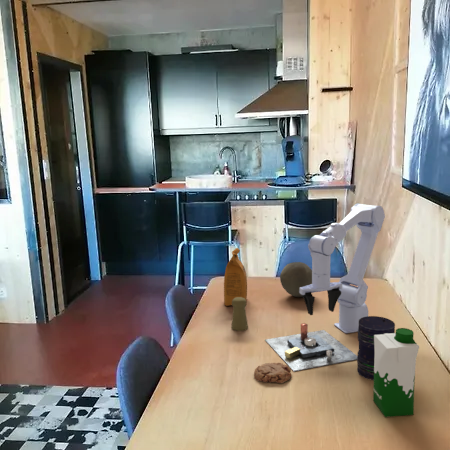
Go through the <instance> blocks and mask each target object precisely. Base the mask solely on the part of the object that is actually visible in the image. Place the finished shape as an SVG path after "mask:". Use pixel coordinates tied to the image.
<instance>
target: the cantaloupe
mask: <svg viewBox="0 0 450 450" xmlns="http://www.w3.org/2000/svg"><path fill="white" fill-rule="evenodd" d="M279 280H280V283H281V284H280V285H281V287H282V288H283V289H284V291H286V293H288V294H289V295H291V296H293V297H295V298H303V297H302V295H301V294H300V293H299V288H300V287H304V286H307V285H310V284H312V268H311V267H310V266H309V265H308V264H306V263H305V262H301V261H294V262H290V263H287V264H286V265H285V266H284V267H283V268H282V270H281V273H280V275H279Z"/></svg>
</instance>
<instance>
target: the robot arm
mask: <svg viewBox="0 0 450 450" xmlns="http://www.w3.org/2000/svg"><path fill="white" fill-rule="evenodd" d="M385 218H386V215H385V210H384V208H383V206H381V205H374V204H365V203H359V202H358V203H355V204H354V205H353V206H351V207H350V212H349V213H348V214H347V215H346V216H345V217H344V218H343V219H342V220H340V222H332V223H330V226H328V228H326V229H325V230H323V231H322V232H321V233H320V234H315V235H313V236H312V237H311V238H310V239H309V242H308V244H307V248H308V251H309V252H310V257H311V259H312V260H311V263H312V264H311V267H312V268H311V270H312V284H310V285H307V286H304V287H300V288H299V293H300V294H301V295H302V297H301V298H303V301H304V303H305V307H306V311H307V314H308V315H310V316H313V315H314V302H315V298H316V297H315V296H314V295H313V293H320V292H327V299H328V302H327V303H328V305H327V306H328V311H330V312H331V313H333V312H334V311H335V308H336V304H337V303H338V308H339V311H338V315H339V316H338V322H335V323H334V324H333V325H334V327H336V328H338V329H339V330H340V331H342V332H343V333H344V334H350V333H356V332H357V333H358V326H359V319H361V318H363V317H367V316H369V308H368V306H367V304H366V300H367V297H368V294H367V293H368V288H369V286H368V285H367V283H366V282H365V280H364V277H365V274H366V271H367V268H368V265H369V263H370V259H371V256H372V253H373V250H374V247H375V244H376V240H377V238H378V236H379V233H380V231H381V230H382V227H383V224H384V221H385ZM354 226H356V227H357V228H358V229H359V230H360V231H361V234H360V236H359V240H358V243H357V246H356V249H355V251H354V255H353V258H352V261H351V263H350V266H349V270H348V273H347V274H346V275H344V276H342V277H340V279H339V281H334V282H331V254H333V253H334V250H335V248H336V247H337V244H339V243H340V242H341V241H342V240H343V239H344V238H346V237H347V232H348V231H349V230H350V229H352V228H354Z"/></svg>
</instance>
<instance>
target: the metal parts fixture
mask: <svg viewBox="0 0 450 450" xmlns="http://www.w3.org/2000/svg"><path fill="white" fill-rule="evenodd" d="M308 326H309V324H308V323H305V322H303V323H300V334H301V337H300V338H294V339H288V340H287V343H288V344H289V345H290V346H291V347H292V349H289V350H287V351H285V356H286V357H287V358H289V359H290V358H292V357H294V356H297V355H300V356H301V357H302V358H305V357H310V356H316V355H321V354H326V351H327V350H331V351H332V352H334V348H333V347H332V346H330V345H329V344H328V343H327V342H326V341H324V340H323V339H322V338H321V337H320V336H318V335H312V336H308V332H309V331H308ZM307 337H313V338H315V339H316V346H317V347H312V348H306V347H305V346H304V345H305V338H307Z"/></svg>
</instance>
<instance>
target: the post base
mask: <svg viewBox="0 0 450 450" xmlns="http://www.w3.org/2000/svg"><path fill="white" fill-rule="evenodd" d="M312 335H318V336H320V337H321V338H322V339H323V340H324V341H326V342H327V343H328V344H329V345H330V346H332V347H333V348H334V352H332V360H331V361H327V360H326V354H321V355H316V356H310V357H305V358H302V357H301V356H300V355H297V356H294V357H292V358H290V359H289V358H287V357H286V356H285V351H287V350H289V349H292V347H291V346H290V345H289V344H288V343H287V340H288V339H294V338H300V337H301V333H298V334H292V335H286V336H285V335H283V336H279V337H273V338H266V339H265V340H264V341H265V342H266V343H267V345H269V346H270V348H271V349H273V351H274V352H275V353H276V354H277V356H279V357H280V359H282V361H283V362H284V363H285V365H287V366H289V367H290V368H291V371H293V372H295V373H296V372H299V371H305V370H310V369H315V368H320V367H326V366H331V365H336V364H342V363H346V362H352V361H357V355H358V354H356V353H354V352H353V351H352V350H350V349H349V348H348V347H346V345H344V344H343V343H341V342H340V341H339V340H337V339H336V338H335V337H334V336H332V335H331V334H330V333H328V332H327V331H326V330H325V329H322V330H316V331H308V336H312ZM304 346H305V347H306V348H312V347H317V346H316V339H315V338H313V337H307V338H305V345H304Z"/></svg>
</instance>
